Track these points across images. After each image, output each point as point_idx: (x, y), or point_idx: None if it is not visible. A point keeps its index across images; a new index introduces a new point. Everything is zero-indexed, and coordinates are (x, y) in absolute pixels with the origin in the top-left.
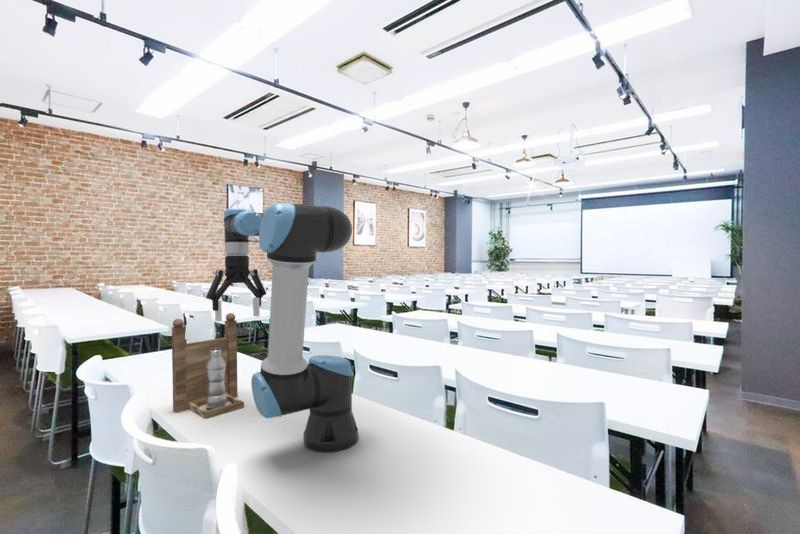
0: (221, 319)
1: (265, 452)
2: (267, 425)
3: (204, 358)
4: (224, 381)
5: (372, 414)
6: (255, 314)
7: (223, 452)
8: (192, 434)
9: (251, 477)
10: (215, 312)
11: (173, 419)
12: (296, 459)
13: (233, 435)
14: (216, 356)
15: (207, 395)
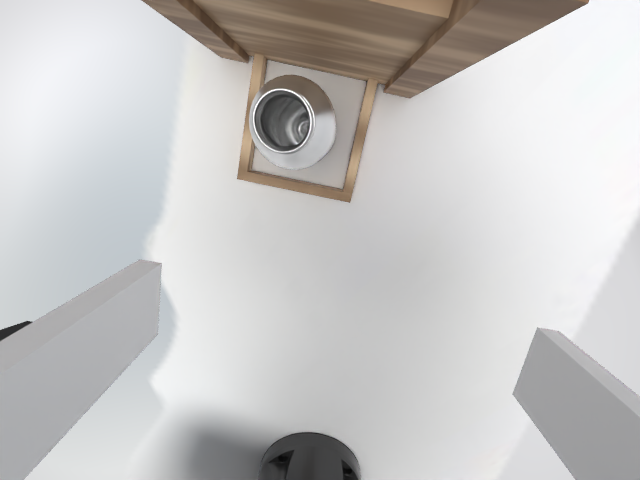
0: (148, 341)
1: (211, 413)
2: (295, 336)
3: (291, 21)
4: (379, 71)
5: (451, 476)
6: (535, 372)
7: (167, 355)
8: (172, 234)
9: (148, 447)
10: (86, 296)
11: (190, 100)
12: (224, 466)
13: (222, 314)
14: (277, 145)
15: (277, 119)
